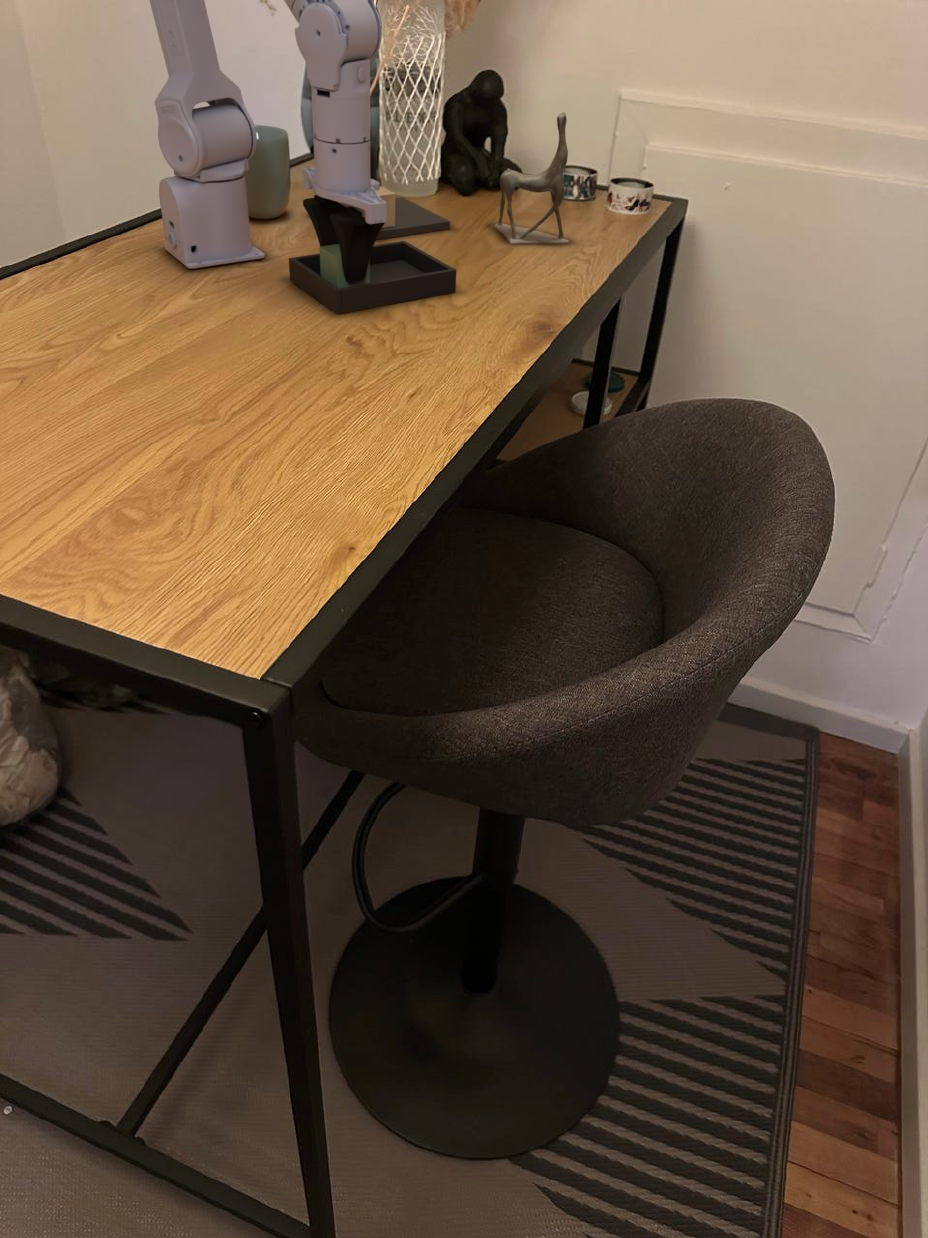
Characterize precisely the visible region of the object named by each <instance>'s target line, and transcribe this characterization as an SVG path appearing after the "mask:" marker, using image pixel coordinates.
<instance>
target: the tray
mask: <svg viewBox="0 0 928 1238" xmlns="http://www.w3.org/2000/svg"><path fill="white" fill-rule="evenodd" d="M288 269H289V270H288V271H289V281H290V282H291V283H293V284H294V285H296V286H297V287H299V288H300V289H301V290H303V291H304V292H305V293H307V294H308V295H309V296H311V297H312V298H314V299H316V301H318V302H319V303H321V304H322V305H324V306H325V307H326V308H328V309H329V310H330V311H332V312H333V313H334V314H336V315H340V314H341V315H342V314H347V313H351V312H357V311H362V310H367V309H373V308H377V307H378V308H379V307H383V306H384V307H385V306H388V305H395V304H399V303H404V302H411V301H414V300H415V301H416V300H421V299H426V298H431V297H438V296H442V295H447V294H453V293H456V287H457V272H458V271H457V269H455V268H454V267H452V266H450V265H449V264H447V263H445V262H443V261H441V260H440V259H438V258H436V257H434V256H433V255H431V254H430V253H427V252H425V251H424V250H421V249H420V248H418V247H417V246H415V245H413V244H411V243H410V242H407V241H406V240H400V241H399V240H398V241H393V242H386V243H379V244H374V245H373V248H372V251H371V255H370V283H367V284H362V285H356V286H350V287H344V288H337V287H336V286H334V285H333V284H331V283H330V282H328V281H327V280H325V279H324V278H323V277H321V269H320V252H318V253H314V254H313V253H312V254H307V255H301V256H294V257H288Z"/></svg>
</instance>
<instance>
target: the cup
mask: <svg viewBox="0 0 928 1238" xmlns="http://www.w3.org/2000/svg"><path fill="white" fill-rule="evenodd" d="M254 126H255V129H256V135H257V145H256V150H255V153H254V155H253V156H252V158H251V159H250V160H248V167H249V170H247V171H245V173H244V174H245V182H246V193H247V204H248V216H249V218H252V219H255V220H256V219H257V220H271V219H272V220H273V219H276V218H278V217H280V216H281V215H283V214H284V213H285V212H286V210H287V208H288V206H289V202H290V197H291V183H292V182H291V180H292V179H291V156H290V140H289V139H290V138H289V134H288V131H287V130H286V129H284V128H280V127H276V126H272V125H271V126H270V125H262V124H254Z"/></svg>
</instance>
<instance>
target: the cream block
mask: <svg viewBox="0 0 928 1238" xmlns="http://www.w3.org/2000/svg"><path fill="white" fill-rule="evenodd" d="M376 192H377V194H378V195H379V197H380V198H381V199H382V200H384V201H385V202H387V222H385V223H384V225H383V227H382V228H386V227H393V226H395V198H396V193H395V192H393V191H391V190H389V189H387V188H385V187H383V186H382V185H380V189H379V190H376Z"/></svg>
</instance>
